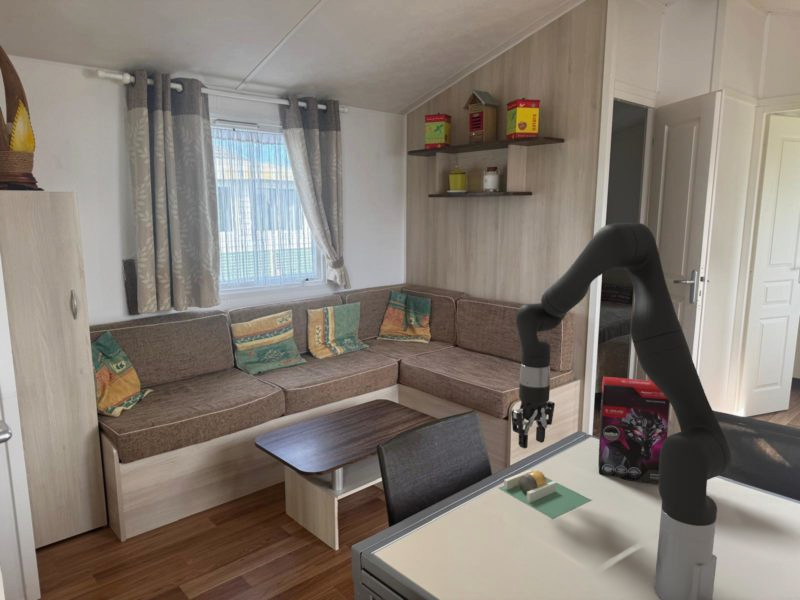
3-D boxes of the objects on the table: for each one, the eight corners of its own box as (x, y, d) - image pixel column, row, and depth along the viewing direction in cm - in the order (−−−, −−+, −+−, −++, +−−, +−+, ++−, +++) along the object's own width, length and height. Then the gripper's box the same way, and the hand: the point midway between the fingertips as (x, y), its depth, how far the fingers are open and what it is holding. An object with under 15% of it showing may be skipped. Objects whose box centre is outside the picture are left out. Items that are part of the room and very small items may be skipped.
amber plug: (543, 493, 147) (548, 479, 145) (529, 498, 144) (535, 485, 142) (530, 480, 150) (535, 466, 148) (516, 485, 147) (522, 472, 145)
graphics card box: (597, 477, 156) (603, 382, 151) (596, 466, 163) (602, 375, 158) (664, 486, 151) (673, 388, 147) (660, 474, 158) (669, 381, 153)
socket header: (555, 491, 146) (556, 482, 146) (529, 502, 141) (529, 493, 140) (529, 478, 154) (530, 469, 153) (503, 488, 148) (504, 479, 147)
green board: (591, 502, 142) (591, 500, 142) (552, 521, 134) (552, 518, 134) (536, 475, 157) (536, 472, 157) (497, 490, 148) (498, 487, 148)
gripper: (526, 390, 135) (523, 456, 138) (565, 380, 143) (561, 442, 146) (503, 382, 141) (501, 446, 144) (542, 373, 149) (539, 433, 152)
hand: (531, 444), depth 145 cm, fingers open, 5 cm apart
